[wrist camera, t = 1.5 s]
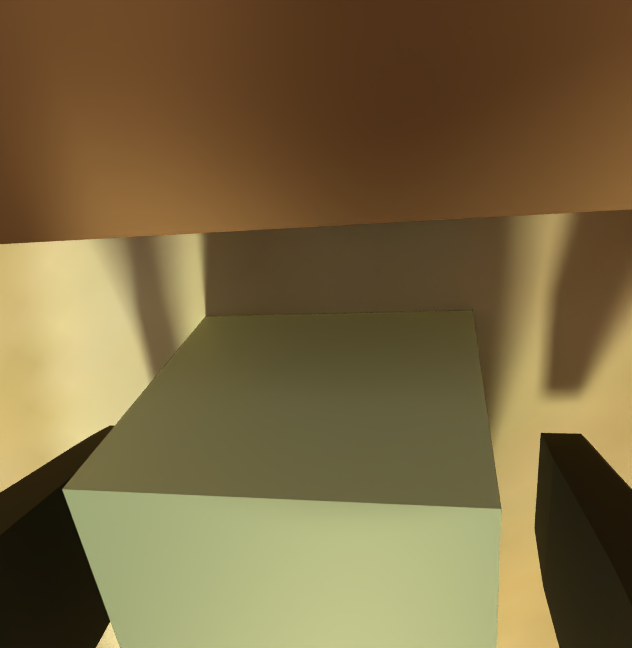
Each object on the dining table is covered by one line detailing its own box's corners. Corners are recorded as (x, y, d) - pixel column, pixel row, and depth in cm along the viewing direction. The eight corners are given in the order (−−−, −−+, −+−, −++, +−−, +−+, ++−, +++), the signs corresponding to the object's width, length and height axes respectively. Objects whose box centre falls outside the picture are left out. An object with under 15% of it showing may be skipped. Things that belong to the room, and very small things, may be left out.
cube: (472, 308, 10) (501, 508, 6) (470, 522, 12) (491, 789, 8) (207, 314, 11) (62, 488, 7) (247, 512, 13) (155, 742, 9)
